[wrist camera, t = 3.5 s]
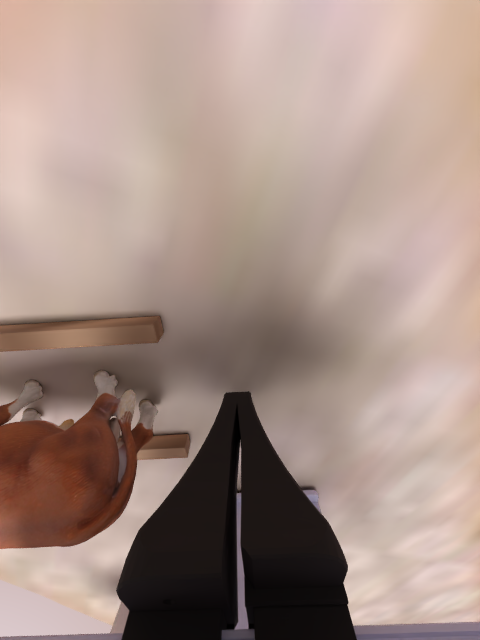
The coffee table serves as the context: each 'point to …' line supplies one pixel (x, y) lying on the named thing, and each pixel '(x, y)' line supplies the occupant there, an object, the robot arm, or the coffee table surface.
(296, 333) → the coffee table surface
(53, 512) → the bull figurine
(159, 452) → the pair of brown bars
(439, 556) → the coffee table surface
